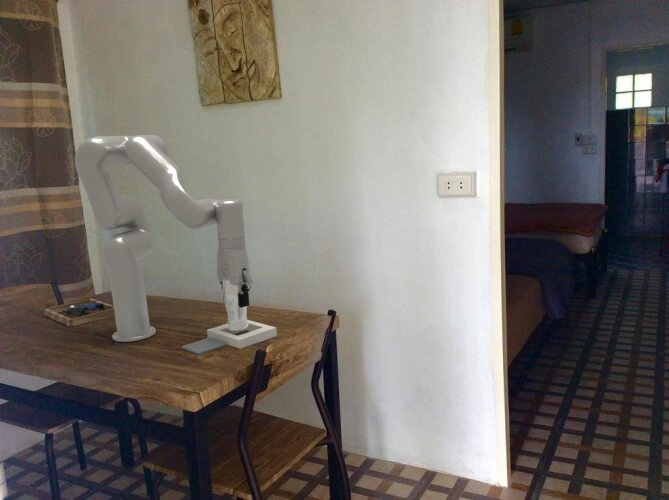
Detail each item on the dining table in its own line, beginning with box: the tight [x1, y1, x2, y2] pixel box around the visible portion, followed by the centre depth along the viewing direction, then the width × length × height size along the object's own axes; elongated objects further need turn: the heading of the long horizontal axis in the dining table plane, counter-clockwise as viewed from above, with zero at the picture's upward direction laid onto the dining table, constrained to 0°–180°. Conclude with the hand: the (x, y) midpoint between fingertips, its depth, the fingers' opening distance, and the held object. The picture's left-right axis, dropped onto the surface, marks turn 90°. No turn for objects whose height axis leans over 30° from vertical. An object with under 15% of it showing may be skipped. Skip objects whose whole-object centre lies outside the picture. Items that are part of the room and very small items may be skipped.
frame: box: [43, 297, 115, 328], centre depth 213 cm, size 24×17×2 cm
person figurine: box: [66, 303, 104, 317], centre depth 213 cm, size 11×4×18 cm
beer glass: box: [222, 279, 249, 332], centre depth 174 cm, size 7×7×15 cm
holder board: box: [206, 319, 278, 350], centre depth 176 cm, size 16×13×2 cm
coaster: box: [181, 337, 228, 356], centre depth 169 cm, size 9×9×1 cm
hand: (236, 303), depth 174 cm, fingers closed on beer glass, 6 cm apart
